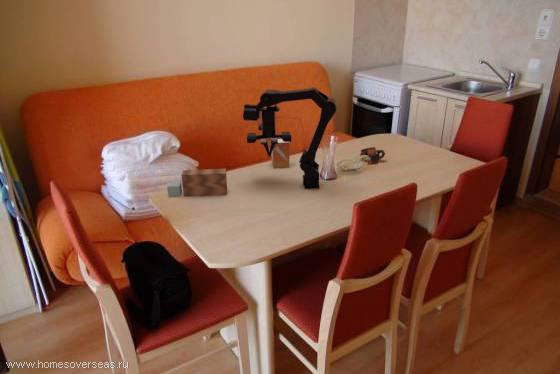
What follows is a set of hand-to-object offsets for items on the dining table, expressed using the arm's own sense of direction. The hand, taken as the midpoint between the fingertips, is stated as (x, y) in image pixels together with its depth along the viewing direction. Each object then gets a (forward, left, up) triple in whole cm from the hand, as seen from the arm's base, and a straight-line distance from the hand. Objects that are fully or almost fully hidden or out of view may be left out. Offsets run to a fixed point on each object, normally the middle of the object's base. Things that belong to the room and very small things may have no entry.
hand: (269, 156), depth 187 cm
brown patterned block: (+28, +7, -13) cm, 32 cm away
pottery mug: (-52, -23, -13) cm, 58 cm away
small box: (-6, -21, -13) cm, 26 cm away
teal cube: (+40, +8, -13) cm, 43 cm away
